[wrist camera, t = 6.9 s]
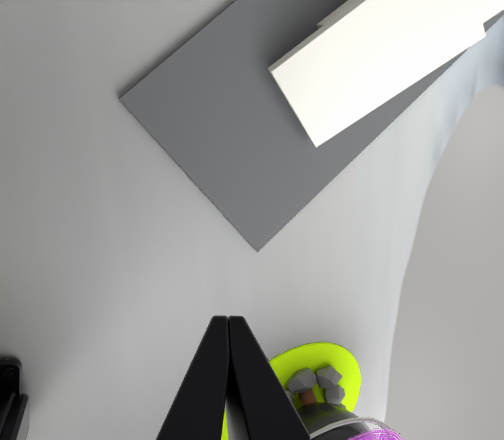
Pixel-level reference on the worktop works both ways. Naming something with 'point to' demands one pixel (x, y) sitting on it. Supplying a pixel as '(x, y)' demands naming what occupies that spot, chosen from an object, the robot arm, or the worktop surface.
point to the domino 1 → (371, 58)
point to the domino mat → (253, 115)
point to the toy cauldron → (324, 392)
